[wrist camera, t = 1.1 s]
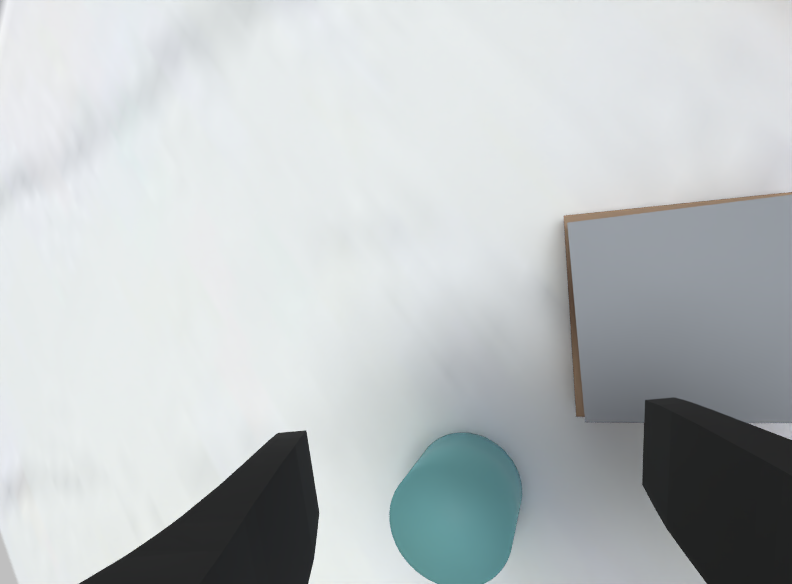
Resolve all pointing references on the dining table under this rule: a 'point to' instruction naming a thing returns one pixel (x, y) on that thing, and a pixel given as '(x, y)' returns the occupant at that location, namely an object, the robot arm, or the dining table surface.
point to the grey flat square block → (686, 310)
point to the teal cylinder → (458, 510)
